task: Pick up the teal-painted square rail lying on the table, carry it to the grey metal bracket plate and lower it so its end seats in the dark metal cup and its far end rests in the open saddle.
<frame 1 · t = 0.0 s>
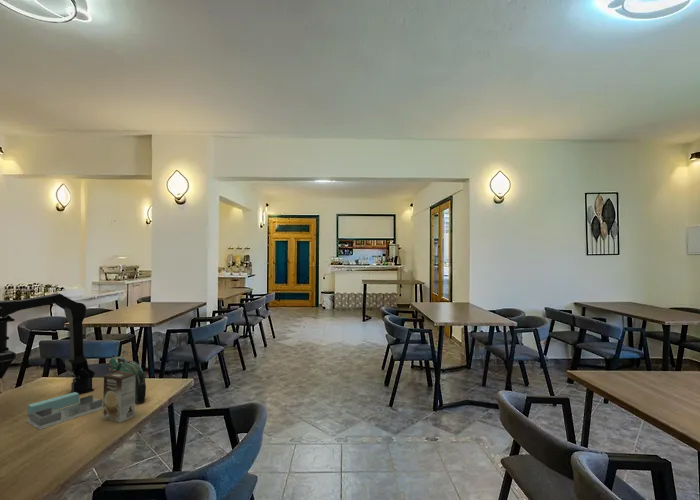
ceramic cat: (128, 399, 149), on the table
cup bracket: (70, 413, 134), on the table
coffee box: (119, 418, 132), on the table
rail: (54, 409, 139), on the table
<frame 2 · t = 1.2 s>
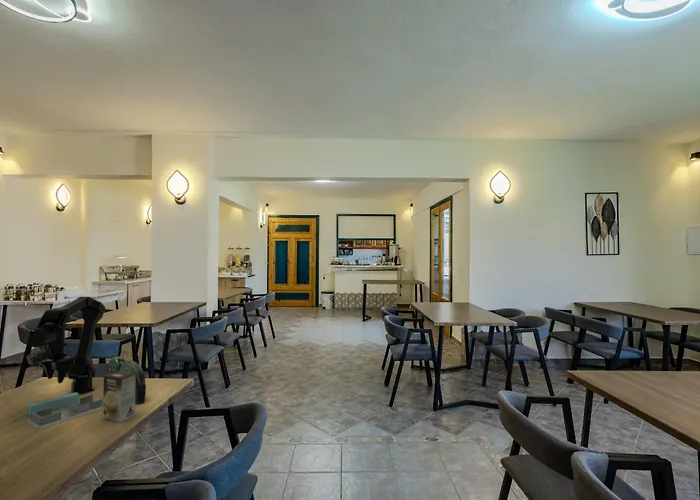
hand: (54, 380, 139), 11 cm above the table, tool pointing down, fingers open, 9 cm apart
nothing on the table moved.
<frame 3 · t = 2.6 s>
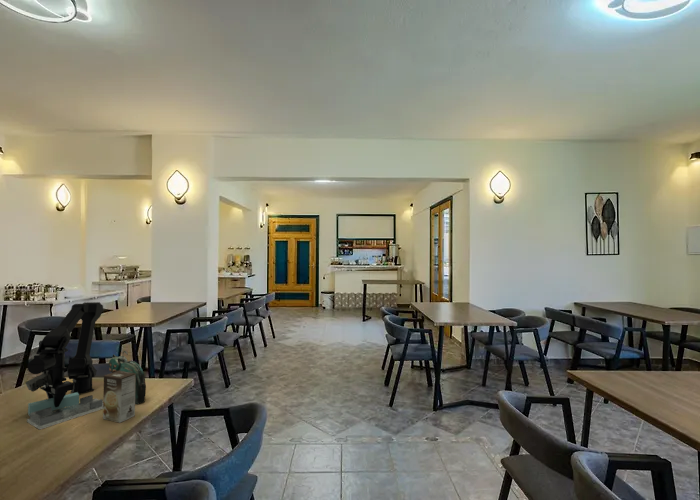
hand: (54, 405, 139), 1 cm above the table, tool pointing down, fingers closed on rail, 4 cm apart
rail: (54, 409, 139), on the table, touching gripper
everything else where it was.
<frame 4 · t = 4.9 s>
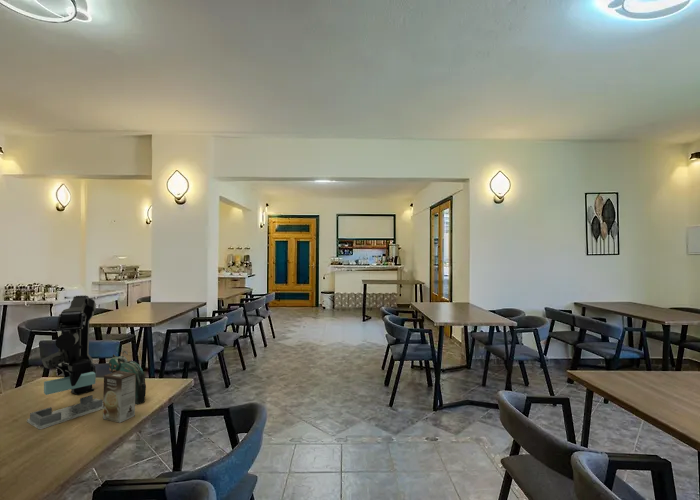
hand: (70, 384, 135), 11 cm above the table, tool pointing down, fingers closed on rail, 4 cm apart
rail: (70, 388, 135), point 10 cm above the table, touching gripper
everything else where it was.
when the fingers open (4 cm above the table, at t = 6.9 s): rail drops 2 cm, resting on cup bracket.
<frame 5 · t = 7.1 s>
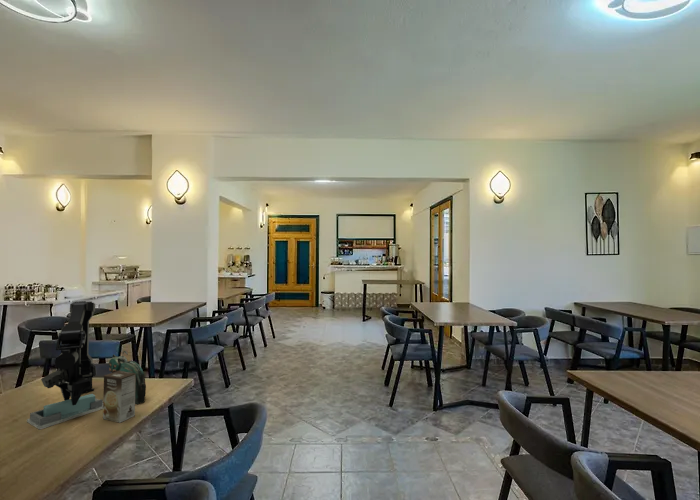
hand: (70, 403, 135), 4 cm above the table, tool pointing down, fingers open, 6 cm apart
rail: (70, 411, 134), point 1 cm above the table, touching cup bracket
everything else where it was.
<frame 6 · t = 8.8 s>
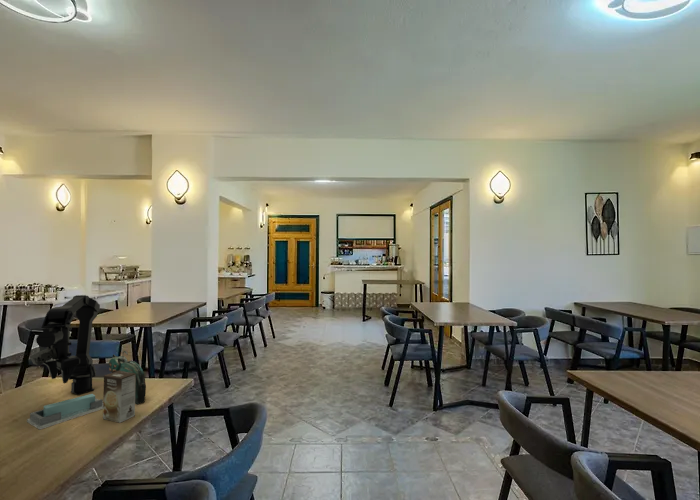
hand: (59, 380, 137), 12 cm above the table, tool pointing down, fingers open, 9 cm apart
nothing on the table moved.
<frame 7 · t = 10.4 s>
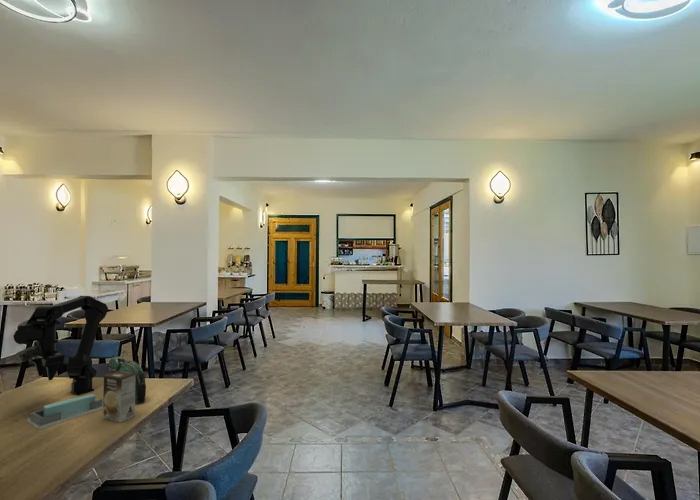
hand: (45, 377, 139), 12 cm above the table, tool pointing down, fingers open, 9 cm apart
nothing on the table moved.
at the end: rail 0.2 cm off-centre on the cup bracket, point 1.0 cm above the cup bracket's base; rail tilted 0°; the gripper is holding nothing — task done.
